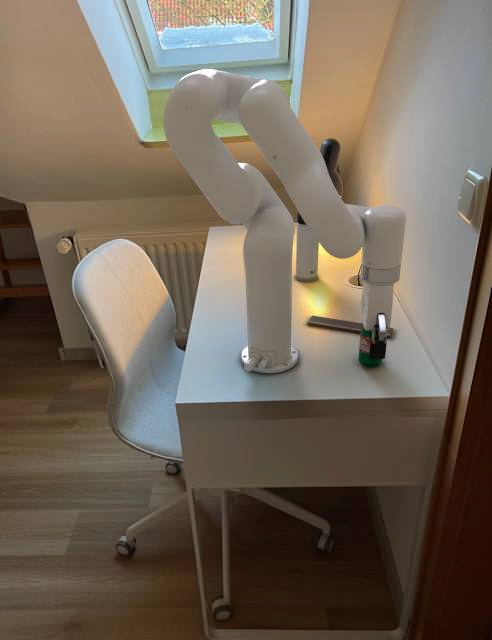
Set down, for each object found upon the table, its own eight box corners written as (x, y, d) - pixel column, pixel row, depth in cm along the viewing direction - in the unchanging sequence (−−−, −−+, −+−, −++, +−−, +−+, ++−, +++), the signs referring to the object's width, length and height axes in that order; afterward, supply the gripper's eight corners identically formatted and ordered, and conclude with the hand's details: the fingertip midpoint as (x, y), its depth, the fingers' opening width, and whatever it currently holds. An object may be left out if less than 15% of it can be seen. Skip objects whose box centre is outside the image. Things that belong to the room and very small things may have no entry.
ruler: (390, 338, 127) (390, 335, 126) (307, 325, 135) (307, 322, 134) (393, 331, 130) (393, 327, 129) (312, 318, 138) (312, 315, 137)
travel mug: (317, 282, 156) (320, 213, 146) (294, 281, 157) (296, 212, 147) (319, 273, 161) (322, 206, 151) (296, 273, 163) (298, 206, 152)
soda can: (354, 365, 118) (358, 315, 112) (363, 354, 121) (367, 306, 115) (377, 371, 115) (382, 321, 109) (385, 360, 119) (391, 311, 113)
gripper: (355, 255, 115) (351, 327, 124) (366, 290, 100) (360, 368, 109) (392, 254, 114) (385, 327, 123) (408, 289, 100) (399, 368, 108)
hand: (373, 346), depth 116 cm, fingers open, 9 cm apart
